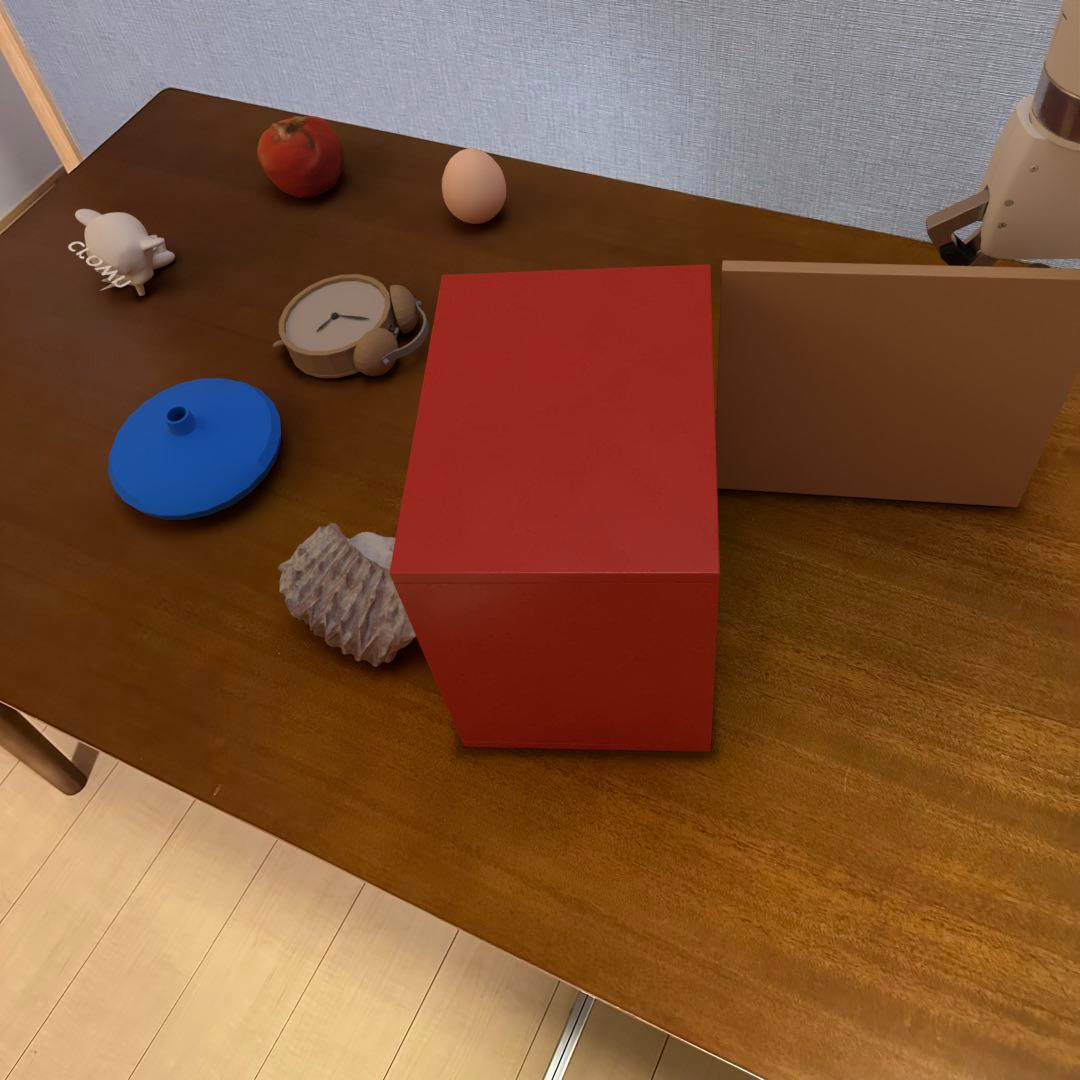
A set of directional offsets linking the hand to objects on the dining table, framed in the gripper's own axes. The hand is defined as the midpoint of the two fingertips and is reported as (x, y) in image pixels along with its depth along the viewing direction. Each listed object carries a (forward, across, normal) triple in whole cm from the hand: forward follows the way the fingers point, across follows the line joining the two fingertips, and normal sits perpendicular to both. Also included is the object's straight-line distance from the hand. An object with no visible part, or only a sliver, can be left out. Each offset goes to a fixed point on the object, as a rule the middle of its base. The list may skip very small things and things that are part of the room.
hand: (1025, 309), depth 77 cm
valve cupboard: (+13, +32, +19) cm, 39 cm away
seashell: (+14, +50, +19) cm, 55 cm away
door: (+13, +10, +4) cm, 17 cm away
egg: (+14, +47, -29) cm, 57 cm away
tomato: (+14, +68, -35) cm, 77 cm away
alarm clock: (+14, +57, -10) cm, 59 cm away
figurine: (+14, +83, -19) cm, 86 cm away
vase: (+14, +68, +5) cm, 70 cm away
